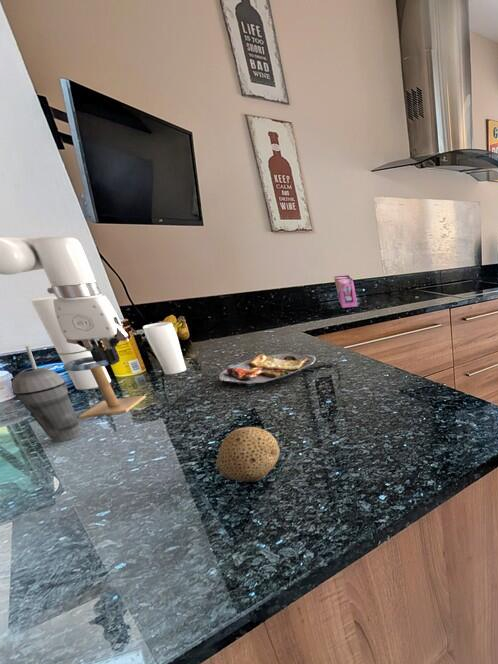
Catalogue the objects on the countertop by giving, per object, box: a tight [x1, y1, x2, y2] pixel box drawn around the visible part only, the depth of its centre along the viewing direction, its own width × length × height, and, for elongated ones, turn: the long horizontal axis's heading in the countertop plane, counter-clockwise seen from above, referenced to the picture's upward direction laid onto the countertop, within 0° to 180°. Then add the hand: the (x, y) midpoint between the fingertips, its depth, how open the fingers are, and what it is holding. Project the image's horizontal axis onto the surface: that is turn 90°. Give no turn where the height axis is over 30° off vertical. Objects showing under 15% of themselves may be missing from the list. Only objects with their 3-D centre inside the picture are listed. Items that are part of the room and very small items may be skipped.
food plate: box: [217, 352, 317, 386], centre depth 116 cm, size 25×23×4 cm
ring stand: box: [78, 366, 147, 419], centre depth 94 cm, size 9×9×11 cm
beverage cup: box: [11, 345, 83, 443], centre depth 80 cm, size 7×7×20 cm
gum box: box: [333, 274, 359, 309], centre depth 209 cm, size 24×8×14 cm, turn 27°
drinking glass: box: [142, 321, 187, 375], centre depth 116 cm, size 7×7×15 cm
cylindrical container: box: [30, 295, 112, 391], centre depth 106 cm, size 7×7×25 cm
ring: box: [63, 357, 110, 372], centre depth 100 cm, size 9×9×1 cm
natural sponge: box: [215, 426, 281, 483], centre depth 66 cm, size 9×9×10 cm
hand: (108, 363), depth 101 cm, fingers closed on ring, 1 cm apart
